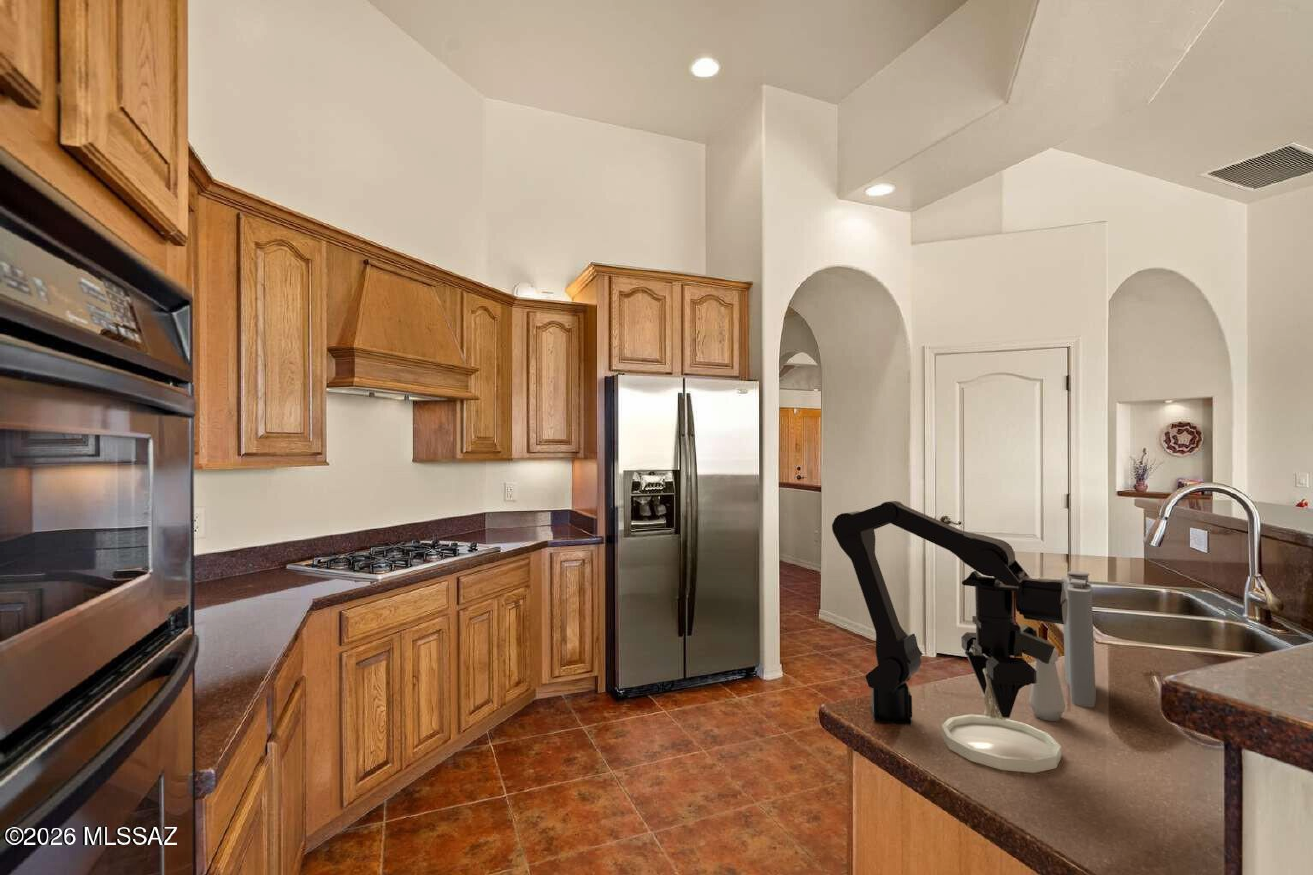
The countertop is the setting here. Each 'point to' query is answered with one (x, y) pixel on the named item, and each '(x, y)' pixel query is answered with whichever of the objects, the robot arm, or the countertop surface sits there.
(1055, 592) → the robot arm
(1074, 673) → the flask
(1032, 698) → the salt shaker
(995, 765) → the ring dish
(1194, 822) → the countertop surface
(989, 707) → the bracelet
